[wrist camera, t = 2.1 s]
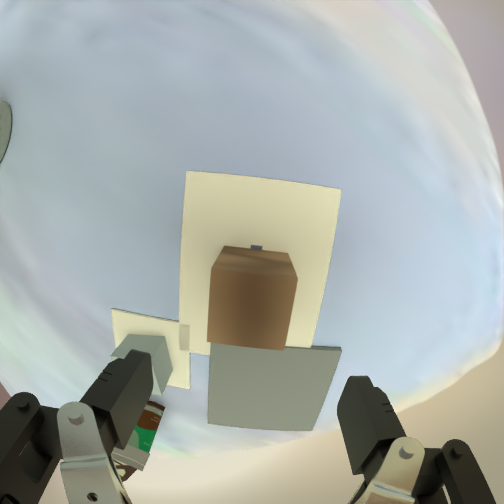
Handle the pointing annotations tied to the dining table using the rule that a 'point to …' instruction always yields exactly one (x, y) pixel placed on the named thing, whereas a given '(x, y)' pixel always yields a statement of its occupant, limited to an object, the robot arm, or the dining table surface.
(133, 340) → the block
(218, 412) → the mat
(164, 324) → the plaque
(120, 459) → the food container
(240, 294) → the block
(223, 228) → the plaque
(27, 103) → the dining table surface
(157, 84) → the dining table surface
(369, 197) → the dining table surface
